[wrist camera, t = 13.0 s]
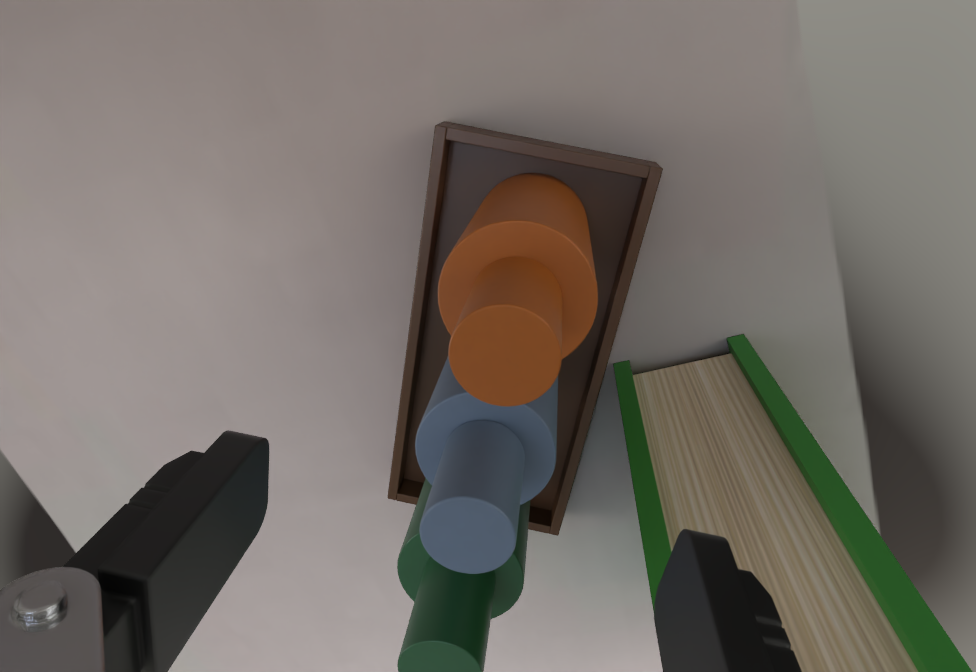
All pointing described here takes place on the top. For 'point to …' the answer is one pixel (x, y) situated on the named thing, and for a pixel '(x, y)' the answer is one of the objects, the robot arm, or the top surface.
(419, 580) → the green bottle
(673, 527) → the hardback book
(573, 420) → the tray
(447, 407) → the slate bottle
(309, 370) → the top surface
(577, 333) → the amber bottle
